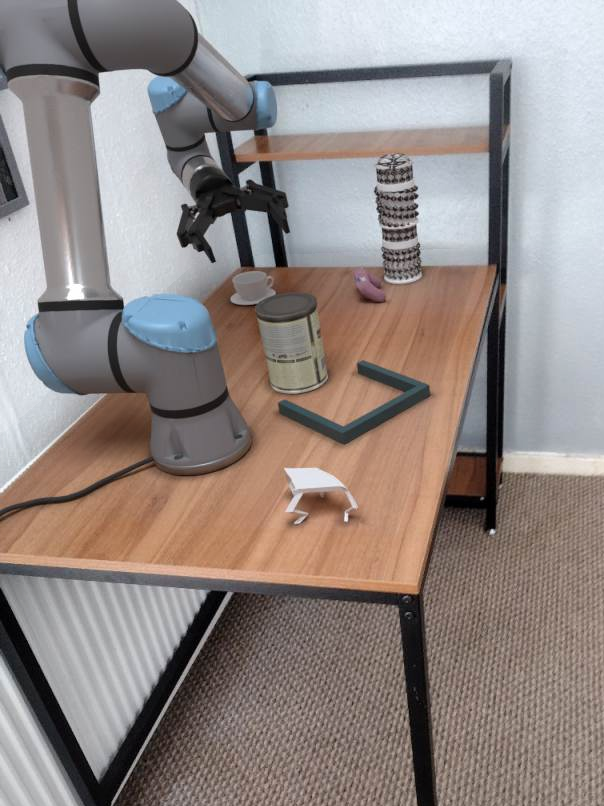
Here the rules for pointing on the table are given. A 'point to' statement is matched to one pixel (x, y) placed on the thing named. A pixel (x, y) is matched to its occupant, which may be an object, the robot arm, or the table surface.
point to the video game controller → (368, 285)
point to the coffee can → (292, 342)
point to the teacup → (251, 288)
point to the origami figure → (313, 487)
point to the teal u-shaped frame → (345, 434)
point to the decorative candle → (398, 218)
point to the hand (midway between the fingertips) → (249, 240)
